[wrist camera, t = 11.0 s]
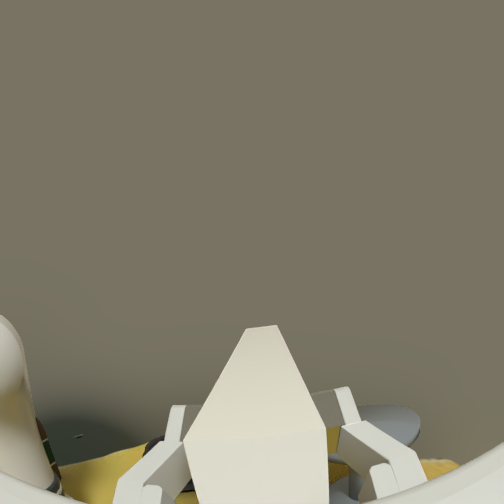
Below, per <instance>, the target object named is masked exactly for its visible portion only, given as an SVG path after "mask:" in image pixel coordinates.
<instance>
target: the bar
mask: <svg viewBox="0 0 504 504" xmlns="http://www.w3.org/2000/svg"><path fill="white" fill-rule="evenodd" d="M183 443H184V448H185V452H186V456H187V460H188V464H189V468H190V472H191V476H192V480H193V483H194V487H195V491H196V494H197V498H198V501H199V504H329V479H328V455H327V436H326V427H325V425H324V423H323V421H322V419H321V417H320V415H319V412H318V410H317V408H316V406H315V404H314V402H313V400H312V398H311V396H310V394H309V392H308V390H307V388H306V385H305V384H304V381H303V379H302V377H301V375H300V373H299V371H298V369H297V367H296V364H295V362H294V360H293V358H292V356H291V354H290V352H289V350H288V348H287V346H286V343H285V341H284V339H283V338H282V335H281V333H280V331H279V329H278V327H277V325H273V326H266V327H257V328H248V329H246V330H245V332H244V333H243V335H242V337H241V339H240V341H239V343H238V345H237V346H236V348H235V350H234V352H233V354H232V355H231V357H230V359H229V361H228V363H227V364H226V366H225V368H224V370H223V372H222V373H221V375H220V377H219V379H218V380H217V382H216V384H215V386H214V388H213V389H212V391H211V393H210V395H209V396H208V398H207V400H206V402H205V403H204V405H203V407H202V409H201V410H200V412H199V414H198V415H197V417H196V419H195V421H194V422H193V424H192V426H191V428H190V429H189V431H188V433H187V434H186V436H185V438H184V439H183Z"/></svg>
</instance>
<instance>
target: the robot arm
mask: <svg viewBox="0 0 504 504" xmlns="http://www.w3.org/2000/svg"><path fill="white" fill-rule="evenodd" d="M310 396H311V398H312V400H313V402H314V404H315V406H316V408H317V410H318V412H319V415H320V417H321V419H322V421H323V423H324V425H325V427H326V436H327V455H329V454H335V453H337V455H338V456H339V457H340V458H341V459H342V460H343V461H344V462H346V463H347V464H348V465H349V466H350V467H351V468H352V469H353V470H355V471H356V472H357V473H358V474H359V475H360V476H361V477H363V478H364V479H365V482H364V484H363V486H362V489H361V491H360V493H359V495H358V499H359V503H360V504H504V442H502V443H501V444H499V445H498V446H496V447H494V448H493V449H491V450H489V451H488V452H486V453H484V454H482V455H481V456H479V457H477V458H475V459H473V460H472V461H470V462H468V463H466V464H464V465H462V466H460V467H458V468H456V469H454V470H452V471H450V472H447V473H445V474H443V475H441V476H439V477H436V478H434V479H432V480H429V481H427V478H426V476H425V473H424V471H423V469H422V466H421V464H420V462H419V459H418V457H417V455H416V452H415V451H413V450H412V449H410V448H408V447H407V446H405V445H403V444H402V443H400V442H399V441H397V440H395V439H394V438H392V437H391V436H389V435H387V434H386V433H384V432H383V431H381V430H380V429H378V428H377V427H375V426H374V425H372V424H371V423H369V422H367V421H366V420H365V421H361V418H360V416H359V413H358V410H357V407H356V405H355V402H354V399H353V397H352V394H351V392H350V389H349V388H348V387H342V388H338V389H334V390H332V389H331V390H326V391H321V392H316V393H310ZM202 407H203V405H173V406H172V408H171V410H170V415H169V419H168V424H167V429H166V434H165V439H164V441H160V442H159V443H158V444H157V445H155V446H154V447H153V448H152V449H151V450H150V451H149V452H148V453H147V454H146V455H145V456H144V457H143V458H142V459H141V460H139V461H138V462H137V463H136V464H135V465H134V466H133V467H132V468H131V469H130V470H128V471H127V472H126V473H125V474H124V475H123V476H122V477H121V478H119V479H118V483H117V487H116V491H115V495H114V499H113V503H112V504H176V503H175V502H174V500H175V498H176V497H177V496H178V495H179V493H180V492H181V491H182V489H183V488H184V487H185V486H186V484H187V483H188V482H189V481H190V479H191V478H192V476H191V472H190V468H189V464H188V460H187V456H186V452H185V448H184V443H183V439H184V438H185V436H186V434H187V433H188V431H189V429H190V428H191V426H192V424H193V422H194V421H195V419H196V417H197V415H198V414H199V412H200V410H201V409H202ZM0 504H88V503H84V502H81V501H77V500H74V499H73V498H72V497H70V496H69V495H68V494H66V493H65V492H64V490H63V488H62V484H61V482H60V480H59V478H58V477H57V475H56V473H55V472H54V471H53V470H52V468H51V466H50V463H49V460H48V458H47V455H46V452H45V449H44V446H43V443H42V440H41V437H40V434H39V431H38V427H37V423H36V418H35V413H34V408H33V402H32V397H31V391H30V385H29V379H28V373H27V367H26V360H25V353H24V348H23V344H22V342H21V339H20V337H19V335H18V333H17V332H16V330H15V328H14V327H13V326H12V324H11V323H10V322H9V321H8V320H7V319H6V318H4V317H3V316H2V315H0Z"/></svg>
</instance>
